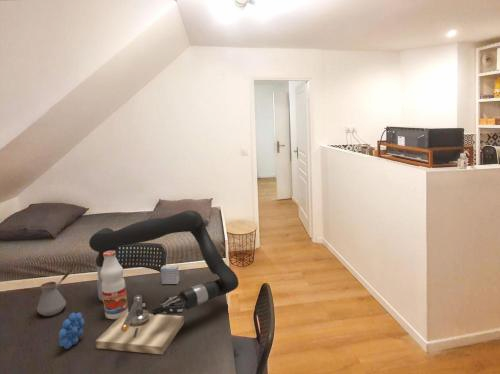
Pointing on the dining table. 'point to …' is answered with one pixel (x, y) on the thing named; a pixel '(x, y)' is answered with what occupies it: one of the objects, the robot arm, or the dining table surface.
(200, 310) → the dining table surface
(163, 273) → the medicine box
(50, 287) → the coffee pot
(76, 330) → the grapes
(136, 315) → the metal faucet
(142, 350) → the stand
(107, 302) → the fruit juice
